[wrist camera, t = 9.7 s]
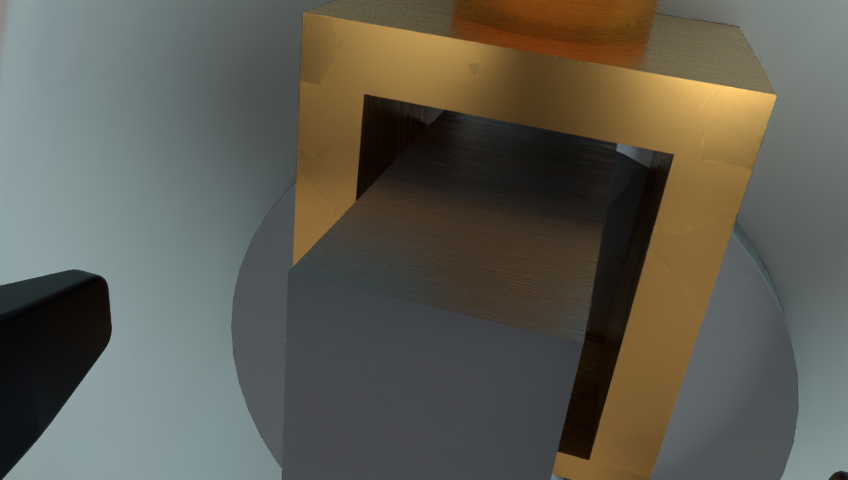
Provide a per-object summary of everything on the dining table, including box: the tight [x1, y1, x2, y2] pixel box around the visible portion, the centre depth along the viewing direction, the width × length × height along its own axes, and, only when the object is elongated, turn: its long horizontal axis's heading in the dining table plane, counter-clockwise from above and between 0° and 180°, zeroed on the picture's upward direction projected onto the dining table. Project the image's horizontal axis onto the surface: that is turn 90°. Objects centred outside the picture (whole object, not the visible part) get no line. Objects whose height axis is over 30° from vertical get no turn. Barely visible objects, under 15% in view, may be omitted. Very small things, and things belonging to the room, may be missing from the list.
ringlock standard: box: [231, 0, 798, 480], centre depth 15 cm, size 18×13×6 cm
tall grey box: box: [282, 110, 617, 480], centre depth 12 cm, size 4×3×8 cm
